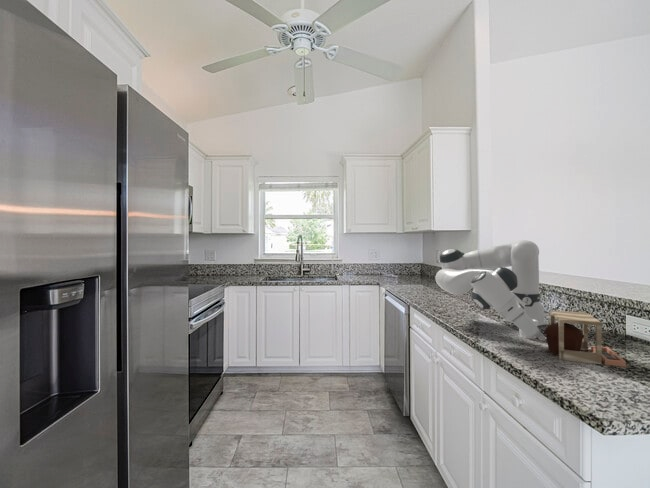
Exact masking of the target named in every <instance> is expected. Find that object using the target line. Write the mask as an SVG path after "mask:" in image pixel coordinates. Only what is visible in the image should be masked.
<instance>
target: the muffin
mask: <svg viewBox="0 0 650 488" xmlns="http://www.w3.org/2000/svg"><path fill="white" fill-rule="evenodd" d="M543 334H545V338H546V342H547V348H548V352H549V353H551V354H554V355H556V356H559V322H555V323H553V324H551V325H550V324H549V325H547V327H546V328H545V329H544V330H543ZM583 338H584V335H583V331H582V330H581V329H580V328H578V327H577V326H575V325H574V324H573V323H564V350H571V351H582V350H581V345H582V341H583Z"/></svg>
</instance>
